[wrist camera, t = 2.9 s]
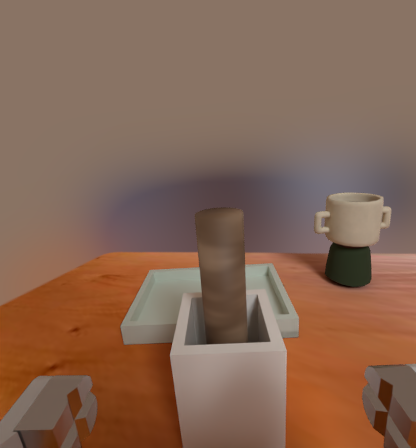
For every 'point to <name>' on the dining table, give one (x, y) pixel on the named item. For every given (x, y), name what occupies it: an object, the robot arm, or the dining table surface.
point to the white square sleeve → (230, 379)
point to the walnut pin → (222, 274)
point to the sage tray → (190, 283)
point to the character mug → (352, 234)
